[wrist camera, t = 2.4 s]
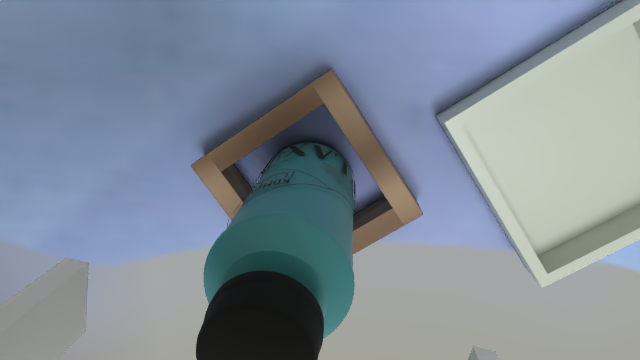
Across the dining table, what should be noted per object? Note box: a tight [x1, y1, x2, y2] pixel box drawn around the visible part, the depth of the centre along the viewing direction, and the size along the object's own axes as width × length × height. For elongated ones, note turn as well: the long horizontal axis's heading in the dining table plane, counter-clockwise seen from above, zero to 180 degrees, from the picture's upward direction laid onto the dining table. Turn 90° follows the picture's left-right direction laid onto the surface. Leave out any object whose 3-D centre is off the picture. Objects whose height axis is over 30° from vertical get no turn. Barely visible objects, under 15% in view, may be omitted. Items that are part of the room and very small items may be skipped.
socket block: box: [191, 68, 423, 254], centre depth 31 cm, size 12×12×3 cm
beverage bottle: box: [196, 141, 356, 360], centre depth 23 cm, size 6×7×20 cm
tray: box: [435, 0, 640, 288], centre depth 29 cm, size 14×14×3 cm
